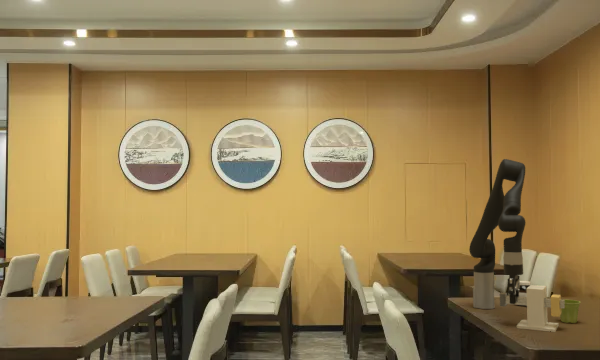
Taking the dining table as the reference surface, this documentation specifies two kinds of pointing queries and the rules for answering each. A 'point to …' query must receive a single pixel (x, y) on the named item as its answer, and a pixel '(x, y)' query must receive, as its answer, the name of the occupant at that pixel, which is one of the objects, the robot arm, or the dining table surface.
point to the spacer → (555, 305)
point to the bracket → (537, 310)
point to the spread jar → (523, 289)
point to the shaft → (525, 301)
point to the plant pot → (570, 311)
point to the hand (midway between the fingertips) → (514, 302)
